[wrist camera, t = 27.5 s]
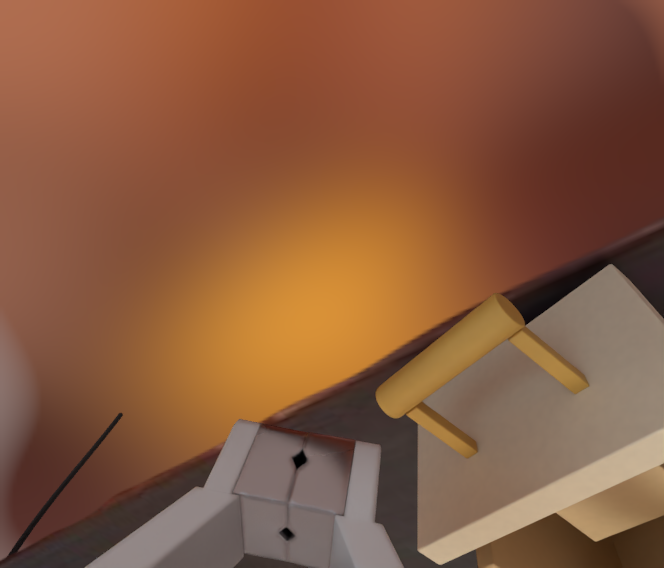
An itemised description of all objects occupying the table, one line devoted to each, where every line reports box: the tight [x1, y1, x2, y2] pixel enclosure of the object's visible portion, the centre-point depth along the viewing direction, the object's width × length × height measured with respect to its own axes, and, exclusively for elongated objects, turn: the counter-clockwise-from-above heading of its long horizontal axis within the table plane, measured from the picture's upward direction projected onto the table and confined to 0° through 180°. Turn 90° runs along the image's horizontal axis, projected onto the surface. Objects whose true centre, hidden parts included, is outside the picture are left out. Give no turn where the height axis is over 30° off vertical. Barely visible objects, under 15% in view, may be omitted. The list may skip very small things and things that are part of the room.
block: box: [556, 463, 664, 541], centre depth 18 cm, size 4×4×4 cm
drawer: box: [376, 264, 664, 568], centre depth 18 cm, size 18×11×8 cm, turn 53°
